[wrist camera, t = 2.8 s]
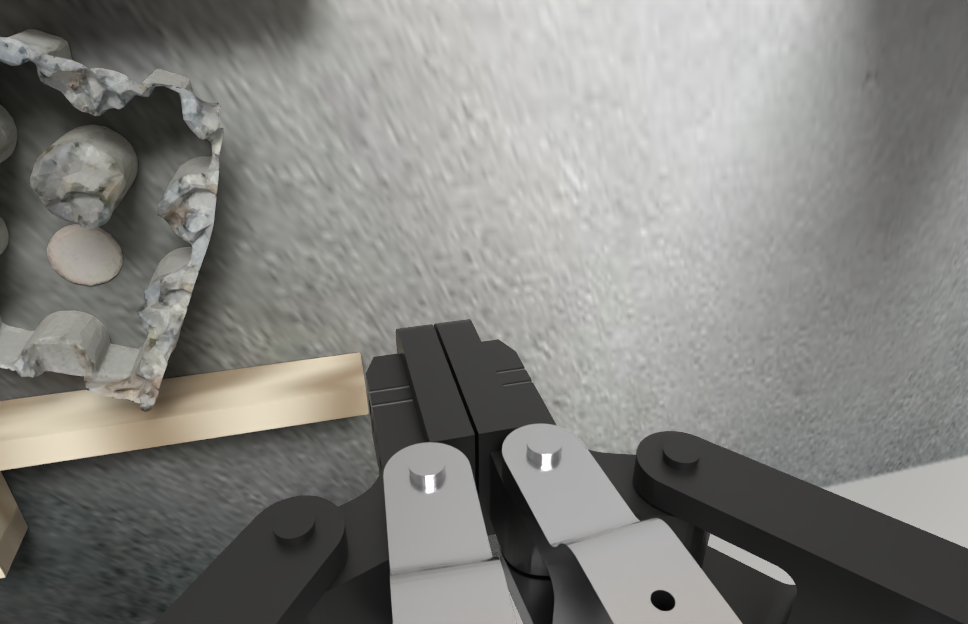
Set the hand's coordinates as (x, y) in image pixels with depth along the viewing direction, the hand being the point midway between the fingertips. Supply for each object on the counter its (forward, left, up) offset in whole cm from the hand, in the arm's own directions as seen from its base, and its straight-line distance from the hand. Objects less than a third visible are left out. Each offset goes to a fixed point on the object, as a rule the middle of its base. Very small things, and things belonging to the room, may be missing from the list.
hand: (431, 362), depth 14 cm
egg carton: (+9, 0, -12) cm, 16 cm away
